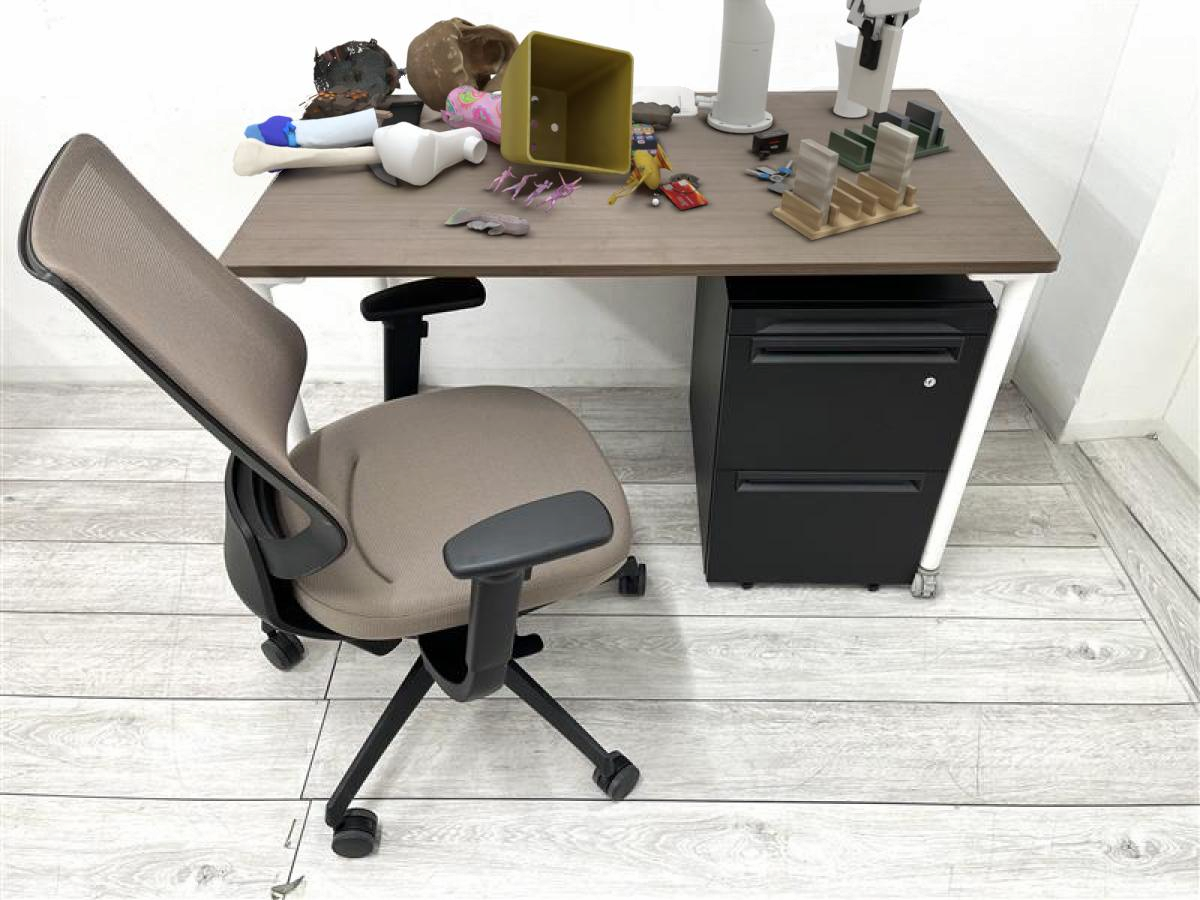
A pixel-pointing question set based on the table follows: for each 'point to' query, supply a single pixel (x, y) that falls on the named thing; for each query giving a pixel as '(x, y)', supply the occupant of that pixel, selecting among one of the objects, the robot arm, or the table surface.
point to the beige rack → (850, 187)
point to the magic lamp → (644, 171)
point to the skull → (458, 59)
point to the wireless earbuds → (770, 142)
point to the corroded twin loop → (689, 177)
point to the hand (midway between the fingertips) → (874, 65)
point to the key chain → (778, 182)
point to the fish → (490, 221)
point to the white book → (876, 72)
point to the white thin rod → (656, 201)
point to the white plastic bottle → (425, 150)
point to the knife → (380, 169)
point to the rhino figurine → (653, 113)
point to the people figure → (539, 189)
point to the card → (683, 194)
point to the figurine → (358, 70)
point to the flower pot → (568, 105)
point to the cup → (846, 76)
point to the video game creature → (340, 104)
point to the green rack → (916, 120)
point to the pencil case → (477, 113)
